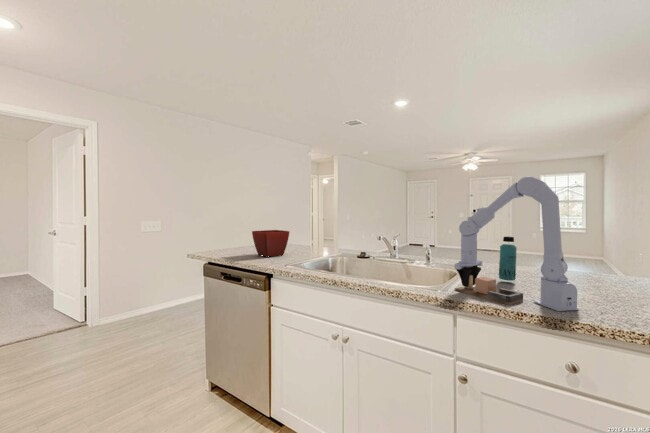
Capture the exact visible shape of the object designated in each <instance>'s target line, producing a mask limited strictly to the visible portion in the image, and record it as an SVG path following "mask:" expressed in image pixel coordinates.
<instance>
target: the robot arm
mask: <svg viewBox="0 0 650 433" xmlns="http://www.w3.org/2000/svg"><path fill="white" fill-rule="evenodd" d="M525 196H526V197H530V198H532V199H533V200H535V201H537V202H538V203H539V204H540V206H541V217H542V223H541V224H542V235H543V257H542V258H543V263H542V264H541V266H540V272H541V274H542V275H541V276H540V297H539V299H540V300H533V303H535V304H538V305H540V306H543V307H545V308H549V309H550V310H553V311H554V310H555V311H557V312H564V311H565V312H566V311H579V310H580V308H579V307H578V289H577V286H575V285H574V284H573V283H570V282H569V278H568V277H567V276H566V275H565V274H566V273H567V271H568V264H567V262H566V261H565V259H564V254H563V248H562V247H563V246H562V232H561V215H560V200H559V199H560V198H559V196H558V195H557V194H556V192H555V191H554V190H553V189H552V188H551V187H550V186H549V185H548V184H547V182H545V181H543V180H541V179H538V178H536V177H533V176H524V177H522V178H520V179H519V180H518V181H517V182H515V183H513V184H512V185H511V186H509V187H508V188H507V189H506V190H505V191H504V192H503V193H502V194H500V195H499V197H498V196H497V198H496V199H495V200H494V201H493V202H492V203H491V204H489V205H488V206H482V207H478V208H476V212H475V213H473V215H470V216H468V217H467V220H463V221H461V223H460V224H459V228H458V230H459V233H460V234H461V235H460V236H461V237H460V260H458V262H456V263H454V269H455V270H456V272H457V273H458V275H459V278H460V282H461V285H462V287H463V286H466V287H468V285H469V277H470V275H473V286H475V278H478V276H479V273H480V272H481V271H482V266H483V260H478V233H479V232H480V230H481V229H482V228H483V227H485V226H486V225H488V224H489V223H490V222H491V221H492V220H494V219H495V216H496V214H495V213H496V212H498V211H499V210H500V209H502V208H503V207H504V206H505V205H508V204H509V203H510V202H511V201H513V200H514V199H519V198H523V197H525Z"/></svg>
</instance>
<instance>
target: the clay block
mask: <svg viewBox="0 0 650 433" xmlns="http://www.w3.org/2000/svg"><path fill="white" fill-rule="evenodd" d="M464 288H467V289H475V292H479V293H483V294H487V295H488V291H492V292H497V279H496V278H492V277H485V276H480V277H477V278H475V285H473V275H470V277H469V285H468V287H466V286H464Z"/></svg>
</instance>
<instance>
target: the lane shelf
mask: <svg viewBox="0 0 650 433" xmlns="http://www.w3.org/2000/svg"><path fill="white" fill-rule="evenodd" d="M498 290H499V292H497V291H496V292H492V291H488V295H487V294H483V293H479V292H475V289H467V288H464V286H463V285H462V286H458V287H455V288H454V291H456V292H460V293H464V294H468V295H470V296H475V297H479V298H483V299H486V300H489V301H493V302H495V303H496V302H497V303H500V304H504V305H507V306H510V305H511V306H512V305H515V304H518V303H522V302H523V301H524V293H523V292H518V291H515V290H511V289H510V290H509V289H506V288H502V287H501V288H499V289H498Z"/></svg>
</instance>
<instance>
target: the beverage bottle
mask: <svg viewBox="0 0 650 433" xmlns="http://www.w3.org/2000/svg"><path fill="white" fill-rule="evenodd" d="M502 241H503V242H507V243H502V244H501V245H500V246H499V261H498V262H499V263H498V264H499V265H498V278H499V280H502V281H515V280H516V279H517V278H516V277H517V249H518V248H517V246H516V245H515V244H509V243H515V237H513V236H503V238H502Z"/></svg>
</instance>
